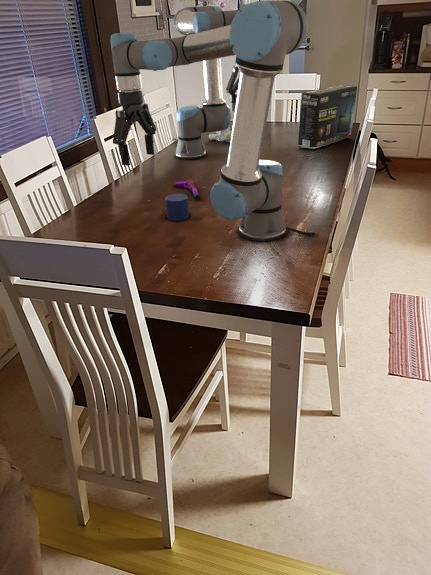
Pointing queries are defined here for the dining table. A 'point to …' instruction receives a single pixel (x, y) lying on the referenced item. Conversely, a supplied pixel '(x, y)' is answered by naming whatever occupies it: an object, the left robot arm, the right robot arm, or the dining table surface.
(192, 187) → the handgun
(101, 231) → the dining table surface
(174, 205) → the cylinder
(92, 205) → the dining table surface
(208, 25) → the left robot arm
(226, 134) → the fossil
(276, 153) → the dining table surface
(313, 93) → the router box
